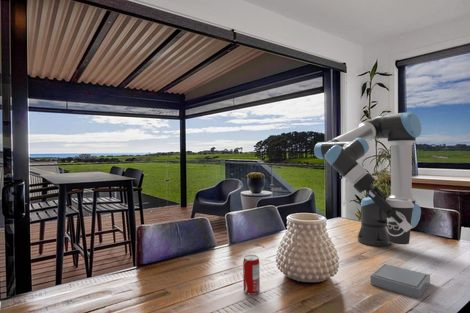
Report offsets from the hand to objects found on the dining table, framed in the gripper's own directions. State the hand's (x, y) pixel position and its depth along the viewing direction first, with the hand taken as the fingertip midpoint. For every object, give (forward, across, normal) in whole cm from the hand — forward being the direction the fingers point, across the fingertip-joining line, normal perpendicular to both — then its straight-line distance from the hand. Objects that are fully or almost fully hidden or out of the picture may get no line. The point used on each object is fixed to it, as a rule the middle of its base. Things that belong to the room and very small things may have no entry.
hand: (409, 226), depth 102 cm
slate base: (+13, 0, -17) cm, 21 cm away
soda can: (-18, +30, -48) cm, 59 cm away
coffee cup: (+2, 0, -7) cm, 7 cm away
